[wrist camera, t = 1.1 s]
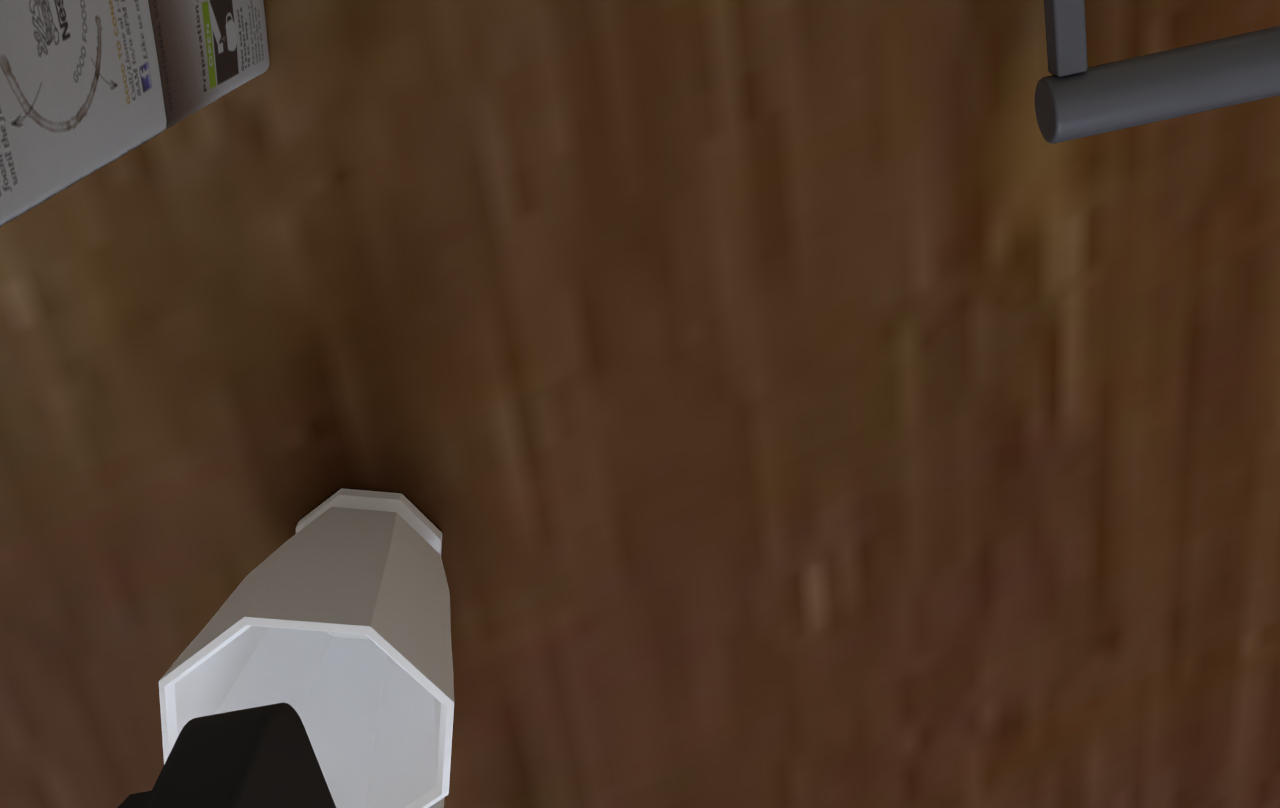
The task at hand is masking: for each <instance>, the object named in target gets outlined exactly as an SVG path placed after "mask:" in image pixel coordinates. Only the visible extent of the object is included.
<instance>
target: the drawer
mask: <svg viewBox="0 0 1280 808" xmlns="http://www.w3.org/2000/svg"><path fill="white" fill-rule="evenodd" d="M1044 8H1045V24H1046V40H1047V55H1048V71H1049V73H1051V74H1053V75H1052V76H1047V77H1043V78H1042V79H1040V80H1039V81H1038V83H1037V86H1036V92H1035V110H1036V117H1037V121H1038V125H1039V128H1040V131H1041V133H1042V135H1043V137H1044V139H1045V140H1046V141H1047V142H1049V143H1053V144H1054V143H1059V142H1063V141H1068V140H1073V139H1077V138H1082V137H1087V136H1091V135H1096V134H1101V133H1105V132H1110V131H1115V130H1119V129H1124V128H1129V127H1133V126H1138V125H1143V124H1147V123H1152V122H1157V121H1161V120H1166V119H1171V118H1175V117H1180V116H1185V115H1189V114H1194V113H1199V112H1203V111H1208V110H1213V109H1217V108H1222V107H1227V106H1231V105H1236V104H1241V103H1245V102H1250V101H1255V100H1259V99H1264V98H1269V97H1273V96H1278V95H1280V26H1277V27H1272V28H1268V29H1263V30H1258V31H1254V32H1249V33H1245V34H1240V35H1235V36H1231V37H1226V38H1222V39H1217V40H1213V41H1208V42H1203V43H1199V44H1194V45H1190V46H1185V47H1180V48H1176V49H1171V50H1167V51H1162V52H1157V53H1153V54H1148V55H1144V56H1139V57H1135V58H1130V59H1125V60H1121V61H1116V62H1112V63H1107V64H1102V65H1098V66H1093V67H1089V68H1088V65H1087V45H1086V25H1085V5H1084V0H1044Z"/></svg>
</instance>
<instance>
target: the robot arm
mask: <svg viewBox="0 0 1280 808" xmlns="http://www.w3.org/2000/svg"><path fill="white" fill-rule="evenodd" d="M118 808H336V806H335V803H334V801H333V798H332V796H331V793H330V791H329V788H328V786H327V783H326V781H325V778H324V776H323V773H322V770H321V768H320V765H319V763H318V760H317V758H316V755H315V753H314V750H313V748H312V745H311V743H310V740H309V738H308V735H307V733H306V730H305V727H304V725H303V723H302V721H301V718H300V717H299V715H298V713H297V712H296V710H295V709H294V708H293V707H292V706H291V705H289V704H288V703H277V704H271V705H266V706H260V707H254V708H249V709H243V710H237V711H231V712H226V713H220V714H214V715H209V716H203V717H197V718H193V719H192V720H190V721H188V722H187V724H186V725H185V726H184V727H183V729H182V730H181V732H180V734H179V736H178V738H177V740H176V742H175V744H174V746H173V748H172V750H171V752H170V754H169V756H168V758H167V761H166V763H165V765H164V767H163V769H162V771H161V773H160V775H159V777H158V779H157V781H156V783H155V785H154V787H153V789H152V791H147V792H142V793H136V794H130V795H129V796H128V797H127V798H126V800H125V801H124V802H123V803H122V804H121V805H120V806H119V807H118Z"/></svg>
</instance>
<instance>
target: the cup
mask: <svg viewBox="0 0 1280 808" xmlns="http://www.w3.org/2000/svg"><path fill="white" fill-rule="evenodd" d="M441 549H442V532H441V531H440V530H439V529H438V528H437V527H436V526H434V525H433V524H432V523H431V522H430V521H429V520H428V519H427V518H426V517H425V516H424V515H423V514H422V513H421V512H420V511H419V510H418V509H417V508H416V507H415V506H414V505H413V504H412V503H411V502H410V501H409V500H408V499H407V498H406V497H405V496H404V495H403V494H402V493H390V492H379V491H367V490H355V489H343V488H341V489H340V490H339V491H337V492H336V493H335V494H334V495H332V496H331V497H330V498H328V499H327V500H326V501H324V502H323V503H322V504H321V505H319V506H318V507H317V508H315V509H314V510H313V511H311V512H310V513H309V514H308V515H306V516H305V517H304V518H302V519H301V520H300V521H299V522H298V524H297V526H296V534H295V535H294V536H293V537H291V538H290V539H289V540H287V541H286V542H285V543H284V544H282V545H281V546H280V547H279V548H278V549H277V550H276V551H274V552H273V553H272V554H271V555H270V556H269V557H268V558H267V559H265V560H264V561H263V562H262V563H261V564H260V565H259V566H257V567H256V568H255V569H254V570H253V571H252V572H251V573H249V574H248V575H247V576H246V577H245V578H244V580H243V581H242V582H241V583H240V585H239V586H238V587H237V588H236V590H235V591H234V592H233V593H232V594H231V596H230V597H229V598H228V599H227V601H226V602H225V603H224V604H223V605H222V607H221V608H220V609H219V610H218V612H217V613H216V614H215V615H214V617H213V618H212V619H211V620H210V621H209V623H208V624H207V625H206V626H205V627H204V628H203V630H202V631H201V632H200V633H199V634H198V635H197V636H196V638H195V639H194V640H193V641H192V642H191V643H190V644H189V646H188V647H187V648H186V649H185V650H184V651H183V652H182V654H181V655H180V656H179V657H178V659H177V660H176V661H175V662H174V663H173V665H172V666H171V667H170V668H169V669H168V671H167V672H166V673H165V674H164V676H163V677H162V678H161V679H160V680H159V695H160V709H161V724H162V739H163V754H164V765H165V763H166V761H167V758H168V756H169V754H170V752H171V750H172V748H173V746H174V744H175V742H176V740H177V738H178V736H179V734H180V732H181V730H182V729H183V727H184V726H185V725H186V724H187V722H188V721H190V720H192V719H193V718H197V717H203V716H209V715H214V714H220V713H226V712H231V711H237V710H243V709H249V708H254V707H260V706H266V705H271V704H277V703H288V704H289V705H291V706H292V707H293V708H294V709H295V710H296V712H297V713H298V715H299V717H300V718H301V721H302V723H303V725H304V727H305V730H306V733H307V735H308V738H309V740H310V743H311V745H312V748H313V750H314V753H315V755H316V758H317V760H318V763H319V765H320V768H321V770H322V773H323V776H324V778H325V781H326V783H327V786H328V788H329V791H330V793H331V796H332V798H333V801H334V803H335V806H336V808H444V797H445V796H447V795H448V794H449V779H450V762H451V746H452V730H453V714H454V683H453V663H452V648H451V622H450V592H449V588H448V584H447V580H446V575H445V571H444V567H443V563H442V559H441Z"/></svg>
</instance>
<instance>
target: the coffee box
mask: <svg viewBox="0 0 1280 808" xmlns="http://www.w3.org/2000/svg"><path fill="white" fill-rule="evenodd" d="M268 67H269V53H268V42H267V31H266V21H265V11H264V3H263V0H0V227H1V226H2V225H3V224H5V223H7V222H9V221H11V220H13V219H15V218H16V217H18V216H19V215H21V214H23V213H25V212H27V211H28V210H29V209H31V208H33V207H36V206H37V205H38V204H40V203H42V202H44V201H46V200H47V199H49V198H50V197H52V196H53V195H55V194H57V193H58V192H60V191H62V190H64V189H66V188H68V187H70V186H71V185H73V184H75V183H76V182H78V181H79V180H81V179H82V178H84V177H85V176H87V175H89V174H91V173H93V172H95V171H96V170H98V169H99V168H101V167H103V166H105V165H107V164H109V163H111V162H113V161H115V160H117V159H118V158H119V157H120V156H123V155H125V154H126V153H127V152H128V151H130V150H133V149H135V148H137V147H138V146H140V145H141V144H143V143H145V142H147V141H149V140H150V139H152V138H154V137H155V136H157V135H159V134H160V133H161V132H162V131H164V130H165V129H167V128H169V127H171V126H173V125H174V124H176V123H178V122H179V121H181V120H182V119H184V118H186V117H187V116H189V115H191V114H193V113H195V112H197V111H198V110H200V109H202V108H203V107H205V106H207V105H209V104H210V103H213V102H214V101H215V100H217V99H219V98H220V97H222V96H224V95H225V94H227V93H228V92H230V91H232V90H234V89H235V88H237V87H239V86H241V85H242V84H244V83H246V82H247V81H249V80H251V79H253V78H255V77H257V76H258V75H261V74H263V73H264V72H265V71H267V70H268Z"/></svg>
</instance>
